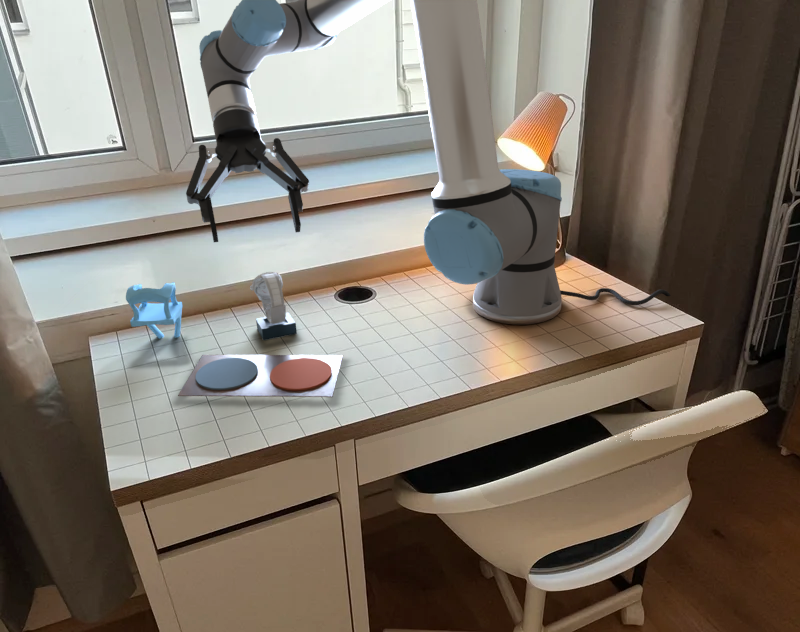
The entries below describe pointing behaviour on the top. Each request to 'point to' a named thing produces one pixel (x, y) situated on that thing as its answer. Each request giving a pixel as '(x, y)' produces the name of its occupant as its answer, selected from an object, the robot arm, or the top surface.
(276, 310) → the watch
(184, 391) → the desk board
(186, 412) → the top surface
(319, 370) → the terracotta pad
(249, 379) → the slate pad
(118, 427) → the top surface
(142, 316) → the chair
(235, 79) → the robot arm
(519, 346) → the top surface
